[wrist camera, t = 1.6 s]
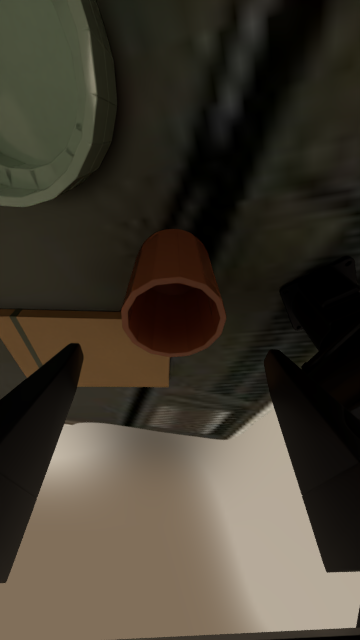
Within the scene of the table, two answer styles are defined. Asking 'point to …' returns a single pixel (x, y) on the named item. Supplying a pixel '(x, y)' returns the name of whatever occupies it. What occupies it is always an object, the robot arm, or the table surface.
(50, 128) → the bowl
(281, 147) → the table surface
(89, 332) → the notebook
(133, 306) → the cup
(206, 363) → the table surface
